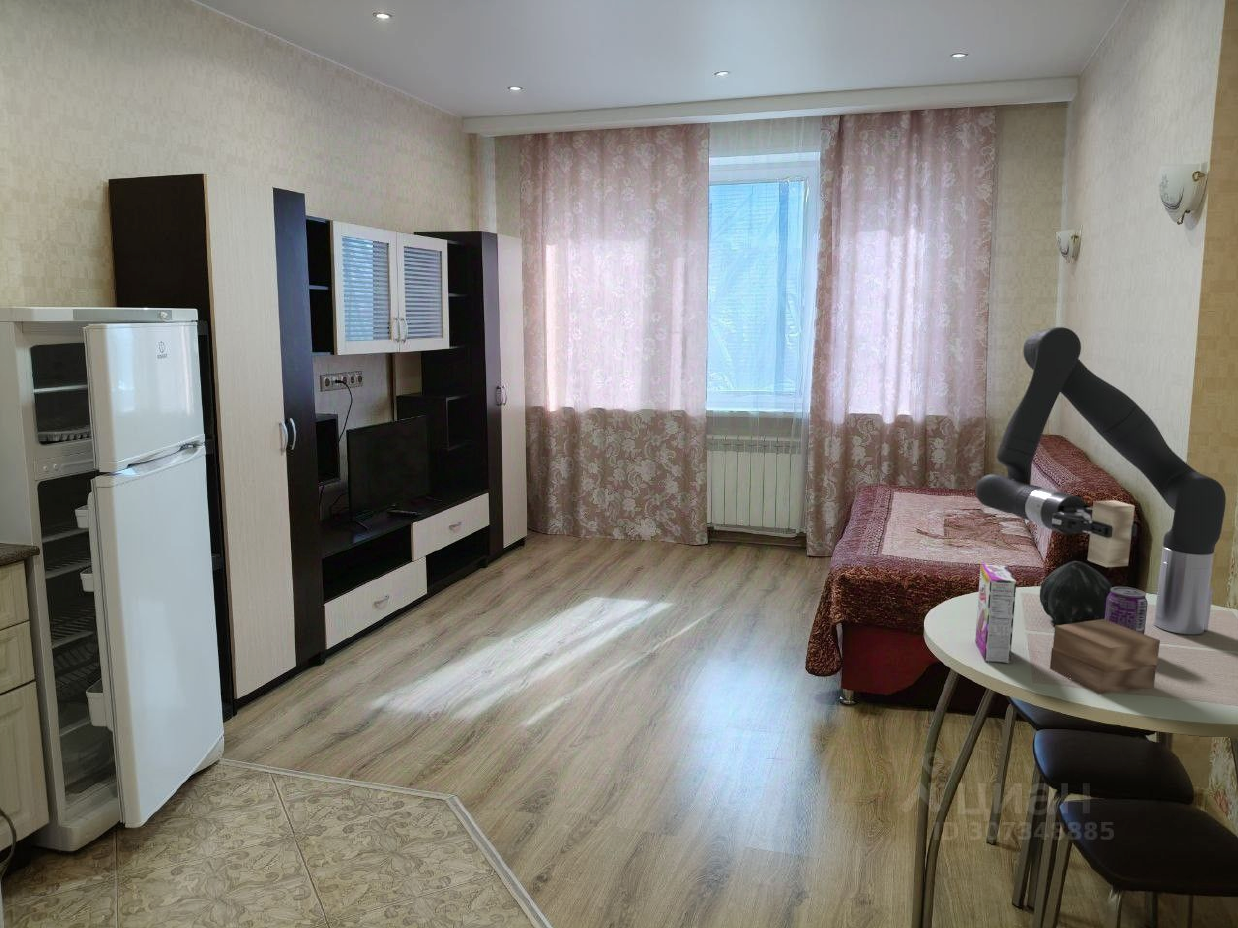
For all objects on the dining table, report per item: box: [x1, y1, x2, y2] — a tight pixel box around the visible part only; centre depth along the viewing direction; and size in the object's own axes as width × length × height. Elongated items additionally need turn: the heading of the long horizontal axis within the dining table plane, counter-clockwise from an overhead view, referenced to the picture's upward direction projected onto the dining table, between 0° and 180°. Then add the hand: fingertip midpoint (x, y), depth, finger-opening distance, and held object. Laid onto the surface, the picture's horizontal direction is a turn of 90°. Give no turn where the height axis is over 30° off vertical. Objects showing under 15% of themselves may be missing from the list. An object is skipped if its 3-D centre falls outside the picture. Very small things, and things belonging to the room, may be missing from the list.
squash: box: [1039, 560, 1112, 625], centre depth 199 cm, size 14×15×15 cm
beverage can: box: [1105, 586, 1149, 634], centre depth 184 cm, size 7×7×12 cm
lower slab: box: [1049, 647, 1157, 695], centre depth 170 cm, size 12×12×4 cm
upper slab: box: [1052, 619, 1161, 673], centre depth 170 cm, size 12×12×4 cm
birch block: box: [1087, 499, 1136, 568], centre depth 167 cm, size 5×5×11 cm
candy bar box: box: [974, 563, 1017, 664], centre depth 181 cm, size 11×5×16 cm, turn 168°
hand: (1122, 531), depth 164 cm, fingers closed on birch block, 4 cm apart
